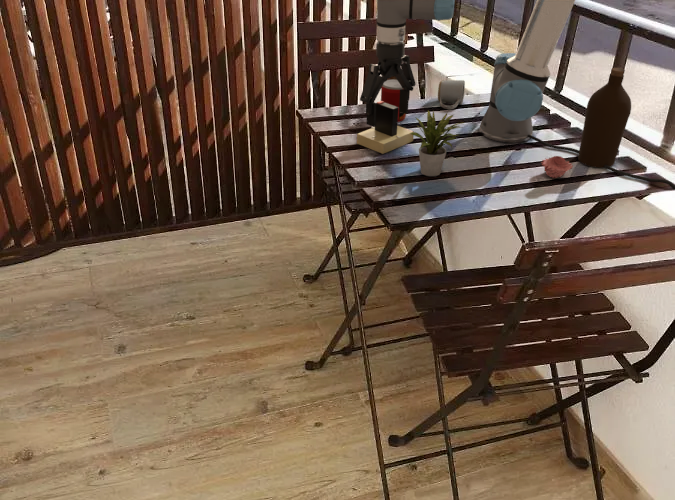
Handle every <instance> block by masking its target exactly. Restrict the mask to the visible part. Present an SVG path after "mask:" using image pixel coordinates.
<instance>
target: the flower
mask: <svg viewBox="0 0 675 500" xmlns="http://www.w3.org/2000/svg"><path fill="white" fill-rule="evenodd" d="M541 165H542V166H543V167H544V169H543V170H544V172H545V173H546V174H545V175H546V176H548V177H550V178H552V179H558V178H561V177H563V176H565V174H566V173H567V172H568V171H570V170H571V169H573V168H574V165H573V163H570V161H567V160H566V159H565V158H564V157H562V156H560V155H554V156H551V157H548V158H546V157H545V158H544V159H541Z"/></svg>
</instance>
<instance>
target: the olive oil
mask: <svg viewBox="0 0 675 500" xmlns="http://www.w3.org/2000/svg"><path fill="white" fill-rule="evenodd" d="M625 71H626V70H625V69H624V68H622V67H611V70H610V73H609V75H608V81H607V83H606V84H605V85H603V86H602V87H599V89H598V90H596V91H595V92H594V93H592V95H590V98H589V100H588V102H587V105H586V110H585V116H584V123H583V128H582V133H581V140H580V145H579V149H578V150H579V154H578V153H577V154H578V155H577V160H578V161H579V162H580V163H581V164H583V165H585V166H587V167H591V168H597V169H605V168H604V165H608V166H610V167H613V166H614V165H615V162H616V159H617V155H618V152H619V149H620V145H621V142H622V139H623V137H624V133H625V130H626V127H627V124H628V121H629V118H630V116H631V111H632V100H631V97H630V96H629V94H628V92H627V91H626V89H625V87H624V86H623V85H622V84H623V81H624V78H625V75H624V74H625Z"/></svg>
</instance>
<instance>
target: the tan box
mask: <svg viewBox="0 0 675 500" xmlns="http://www.w3.org/2000/svg"><path fill="white" fill-rule="evenodd" d="M412 132H415V131H413V130H411V129H408V128H406V127H402V126H400V125H397V135H394V136H392V137H391V136H389V135H386V134H384V133H381V132H378V131H376V130H375V127H373V126H371V128H369V129H366V130H363V131H360V132H358V133H357V134H356V144H357V145H359V146H362V147H364V148H367V149H369V150H371V151H375V152H377V153H380V154H382V155H384V154H386V153H389V152H391V151H393V150H395V149H398V148H400V147H403V146H406V145H407V144H411V143H412V142H414V135H412V134H410V133H412Z"/></svg>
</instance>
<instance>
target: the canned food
mask: <svg viewBox="0 0 675 500" xmlns="http://www.w3.org/2000/svg"><path fill="white" fill-rule="evenodd" d="M400 89H403V88H402V87H401V85H400V83H399V82H398V80H397V79H387V81H386V82H384V84H383V86H382V88H381V89H380V91H381V93H380V101H383V102H384V103H387V104H390V105H393V106H396V107H398V123H401V122H403V121H405V119H406V116H407V114H404V113H401V112H399V99H400Z"/></svg>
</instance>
